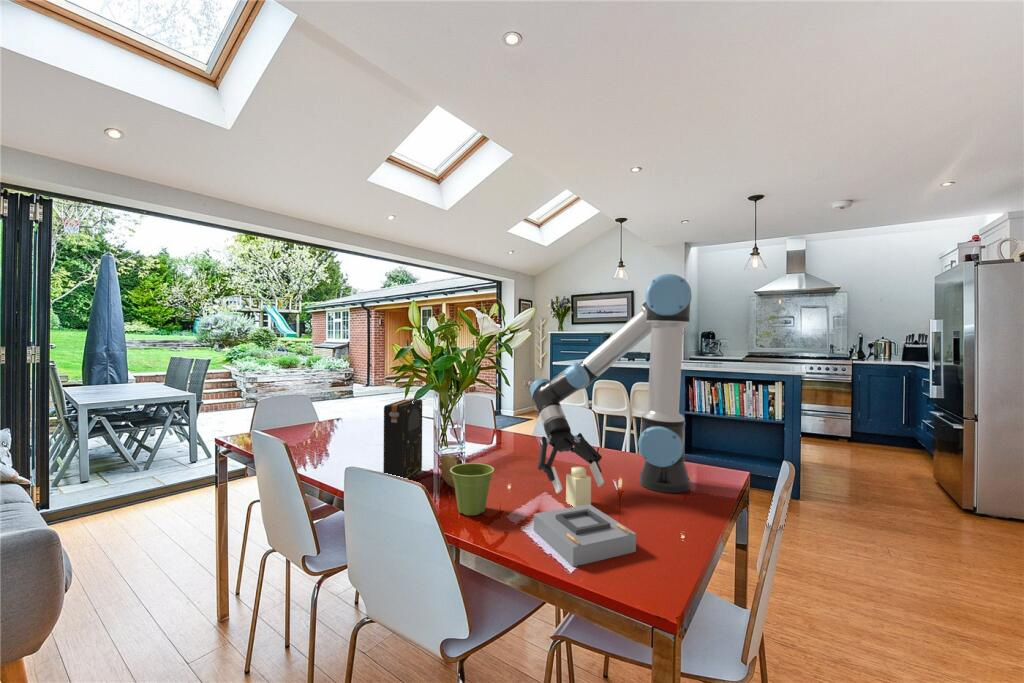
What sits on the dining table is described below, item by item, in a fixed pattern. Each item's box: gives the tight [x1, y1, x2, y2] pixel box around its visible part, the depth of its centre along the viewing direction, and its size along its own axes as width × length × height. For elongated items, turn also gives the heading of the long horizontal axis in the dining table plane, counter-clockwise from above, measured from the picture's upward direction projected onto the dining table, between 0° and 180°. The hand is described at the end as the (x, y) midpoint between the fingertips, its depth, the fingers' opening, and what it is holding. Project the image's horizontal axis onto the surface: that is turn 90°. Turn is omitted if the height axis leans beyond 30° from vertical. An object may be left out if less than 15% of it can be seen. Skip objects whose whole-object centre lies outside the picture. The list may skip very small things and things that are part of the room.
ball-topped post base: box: [533, 504, 637, 568], centre depth 100 cm, size 16×18×5 cm
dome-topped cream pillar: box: [565, 466, 592, 507], centre depth 121 cm, size 5×5×10 cm
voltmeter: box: [382, 398, 423, 480], centre depth 144 cm, size 16×9×25 cm, turn 168°
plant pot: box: [450, 462, 495, 517], centre depth 116 cm, size 12×12×11 cm
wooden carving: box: [438, 453, 464, 489], centre depth 135 cm, size 16×5×10 cm, turn 43°
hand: (580, 487), depth 120 cm, fingers open, 13 cm apart
